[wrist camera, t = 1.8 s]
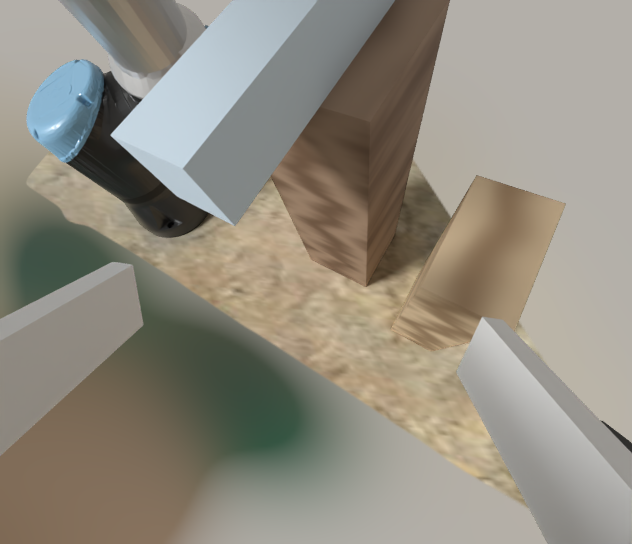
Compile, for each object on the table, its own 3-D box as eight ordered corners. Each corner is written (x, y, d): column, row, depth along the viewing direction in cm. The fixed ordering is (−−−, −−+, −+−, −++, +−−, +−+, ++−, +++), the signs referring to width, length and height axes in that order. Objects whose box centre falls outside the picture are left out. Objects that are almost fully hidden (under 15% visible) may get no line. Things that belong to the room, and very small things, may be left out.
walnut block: (311, 259, 45) (223, 78, 17) (340, 211, 47) (306, -21, 19) (365, 286, 41) (370, 121, 14) (394, 234, 44) (450, -3, 16)
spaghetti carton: (235, 226, 13) (182, 168, 9) (177, 196, 14) (110, 135, 10) (429, -48, 17) (447, -161, 14) (372, -52, 19) (375, -157, 15)
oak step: (390, 329, 39) (420, 287, 18) (420, 271, 41) (476, 175, 20) (431, 351, 37) (514, 331, 17) (460, 289, 39) (565, 203, 19)
